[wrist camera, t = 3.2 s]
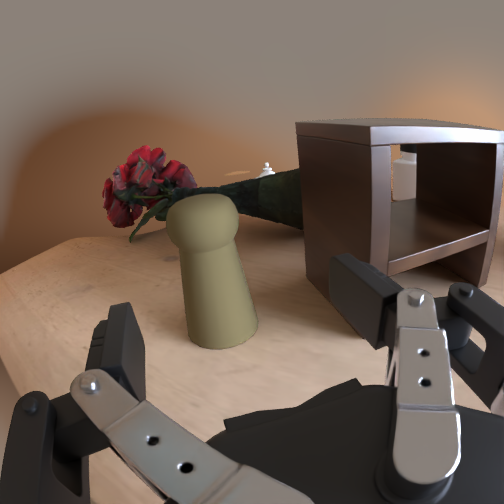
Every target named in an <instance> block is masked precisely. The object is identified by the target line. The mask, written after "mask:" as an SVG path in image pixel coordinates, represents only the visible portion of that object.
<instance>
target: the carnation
mask: <svg viewBox="0 0 504 504" xmlns="http://www.w3.org/2000/svg"><path fill="white" fill-rule="evenodd" d="M165 160H166V153H165V152H164V151H163V150H162V149H161V148H156V149H153V151H150V147H149V146H147V145H146V146H142V147H141V148H139V149H136V150H135V151H133V152H132V154H131V155H130V156H129V157H128V158H127V163H126V164H123V165H121V166H117V168H116V169H115V170H114V171H113V173H112V175H113V181H111V179H110V178H108V179H107V180H106V182H105V184H104V190H103V192H102V197H103V198H104V204H103V208H106V210H107V214H108V216H107V218H108V220H110V221H111V223H112V224H113V226H114V227H118V228H125V227H128V226H132V225H134V220H136V219H138V217H139V216H140V215H141V213H142V211H143V210H142V209H143V207H142V206H146V207H147V210H149V209H150V210H149V211H148V212H147V213H145V214H144V216H143V219H142V220H141V221H140V223H139V224H138V226H137V227H136V229H135V230H134V231H133V232H132V234H131V236H130V237H129V242H130V243H131V241H132V238H133V236H134V235H135V233H136V232H137V231H138V230H139V229H140V227H141V226H143V225H144V224H146V223H147V222H148V221H149V219H150V218H152V217H153V216H155V215H156V216H155V218H156V220H158V221H166V217H167V213H168V211H169V208H170V207H172V206H173V205H174V204H175V203H176V202H178V201H180V200H182V199H185V198H188V197H191V196H194V195H200V194H221V195H224V196H227V197H229V198H230V199H231V201H232V202H233V203H234V204H235V206H236V209H237V211H238V213H240V214H245V215H249V216H252V217H258V218H261V219H265V220H269V221H273V222H276V223H282V224H285V225H289V226H292V227H296V228H298V229H301V230H304V225H303V209H302V195H301V181H300V169H299V168H298V169H294V170H290V171H286V172H278V173H275V174H270V175H266V176H263V177H259V178H255V179H249V180H245V181H241V182H235V183H232V184H228V185H223V186H220V187H199V188H197V184H196V182H195V180H194V178H193V175H192V174H191V172H190V171H189V169H188V167H187V166H185V165H184V164H181V163H180V162H178V161H175V160H171V161H170V162H169V163H168V164H167V165H166V167H164V166H163V163H164V162H165ZM130 208H131V209H132V212H130Z"/></svg>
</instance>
